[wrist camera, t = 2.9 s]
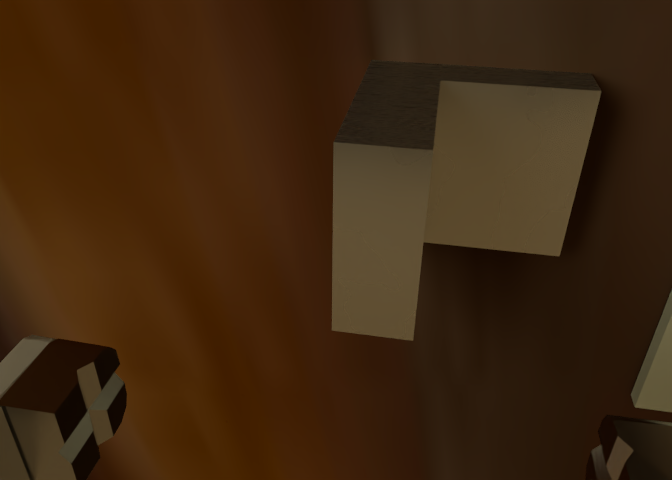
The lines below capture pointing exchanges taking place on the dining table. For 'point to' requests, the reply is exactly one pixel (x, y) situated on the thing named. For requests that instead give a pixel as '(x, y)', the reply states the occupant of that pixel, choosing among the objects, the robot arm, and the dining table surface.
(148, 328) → the dining table surface
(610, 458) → the robot arm
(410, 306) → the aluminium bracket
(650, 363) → the arena pad
